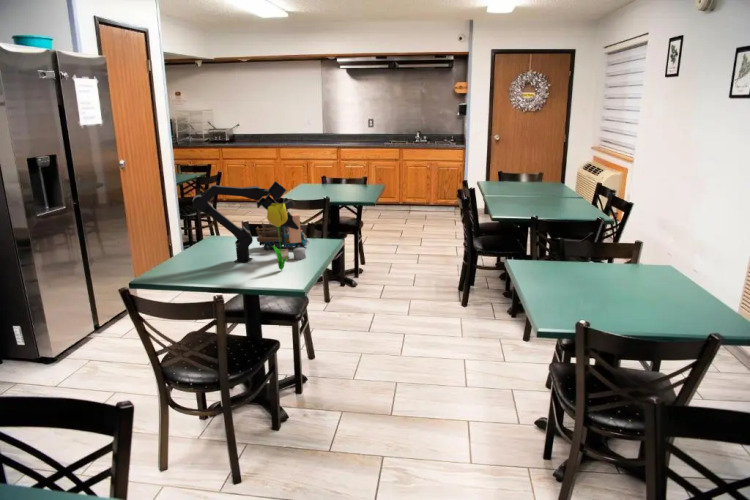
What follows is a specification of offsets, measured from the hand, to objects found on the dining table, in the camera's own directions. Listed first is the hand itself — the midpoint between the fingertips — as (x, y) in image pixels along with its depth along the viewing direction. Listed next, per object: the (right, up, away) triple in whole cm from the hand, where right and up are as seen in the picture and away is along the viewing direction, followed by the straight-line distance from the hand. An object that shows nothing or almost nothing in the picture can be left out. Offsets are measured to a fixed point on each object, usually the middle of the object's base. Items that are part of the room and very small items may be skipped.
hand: (297, 227), depth 253 cm
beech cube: (-6, -15, -3) cm, 17 cm away
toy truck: (-9, -10, +17) cm, 21 cm away
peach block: (-1, -7, +1) cm, 7 cm away
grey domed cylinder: (+1, -15, -2) cm, 15 cm away
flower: (-4, -20, -20) cm, 29 cm away
